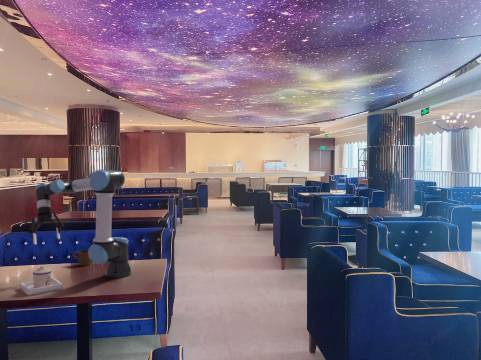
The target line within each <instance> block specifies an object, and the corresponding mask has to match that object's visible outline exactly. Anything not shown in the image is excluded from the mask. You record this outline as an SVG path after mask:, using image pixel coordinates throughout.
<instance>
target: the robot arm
mask: <svg viewBox="0 0 481 360" xmlns="http://www.w3.org/2000/svg"><path fill="white" fill-rule="evenodd" d="M125 182H126V179H125V175H124V173H123V172H122V171H120V170H119V169H103V168H102V169H98V170H95V171H94V172H93V173H92V174H91V175H90V177H88V178H86V177H85V178H82V179H81V178H80V179H76V180H68V181H64V180H61V179H55V180H52V181H51V182H49V183H39V184H37V185H36V186H35V198H36V199H35V200H36V209H37V217H32V221H31V222H30V225H29V228H28V230H27V233H28V234H29V235H31V240H32V241H33V242H32V243H33V244H34V245H35V246H37V244H38V243H37V242H38V241H37V240H38V239H37V233H36V232H37V231H38V229H39V228H40V226H41V225H42V224H46V223H50V222H51V223H52V224H53V225H54V226H55V227H56V228H55V229H56V238H57V239H58V240H60V239H61V233H62V228H63V227H65V224H64V223H63V222H62V221H61V220H60V218H59V217H58V213H56V212H53V213H52V208H51V207H52V206H51V205H52V204H51V197H53V196H55V195H59V194H60V195H61V194H75V193H79V192H84V191H90V190H91V191H92V190H93V194H94V195H95V197H96V202H95V204H96V207H95V208H96V209H95V210H96V212H95V236H94V238H93V239H92V244H91V245H90V247H89V248H88V249H87V250H88V255H89V258H90V259H91V263H94V264H95V265H101V264H106V263H108V264H107V266H106V270H105V277H106V278H110V279H114V278H115V279H119V278H126V277H129V276H131V275H132V269H131V266H130V263H129V239H128V238H127V237H121V236H120V237H119V236H117V237H116V236H114V237H112V224H113V223H112V221H113V220H112V219H113V217H112V216H113V215H112V214H113V196H114V195H115V194H116V190H117V189H120V188H121V187H123V186H124V184H125ZM52 218H55V220H56V221H54V220H53V219H52ZM56 222H57V223H56Z"/></svg>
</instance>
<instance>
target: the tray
mask: <svg viewBox="0 0 481 360" xmlns="http://www.w3.org/2000/svg"><path fill="white" fill-rule="evenodd" d="M19 289H20V290H21V291H22V292H23V293H24V294H26V295H27V297H30V296H35V295H40V294H45V293H51V292H56V291H60V290H64V283H62V282H61V281H59V280H58V279H56V278H55V277H52V276H51V286H45V287H40V288H33V280H29V281H23V282H20V283H19Z"/></svg>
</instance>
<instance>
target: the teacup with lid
mask: <svg viewBox="0 0 481 360" xmlns="http://www.w3.org/2000/svg"><path fill="white" fill-rule="evenodd" d="M32 278H33V279H32V281H33V288H40V287H45V286H51V278H52V269H51V268H47V267H45V266H44V265H41V266H40V265H39V268H37V269H35V270H33V271H32Z"/></svg>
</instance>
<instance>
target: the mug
mask: <svg viewBox="0 0 481 360" xmlns="http://www.w3.org/2000/svg"><path fill="white" fill-rule="evenodd" d="M88 250H89V249H83V250H79V251H73V252H72V257H73V259H75V260H78V265H79V266H81V267H86V266H90V265H91V264H92V260H91V259H90V258H89V255H88ZM77 255H78V256H77Z"/></svg>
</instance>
